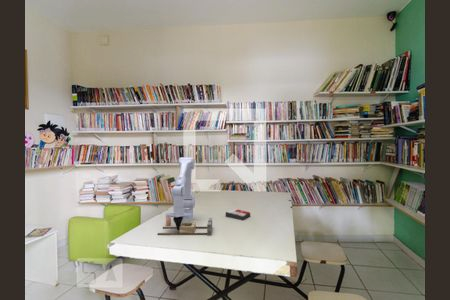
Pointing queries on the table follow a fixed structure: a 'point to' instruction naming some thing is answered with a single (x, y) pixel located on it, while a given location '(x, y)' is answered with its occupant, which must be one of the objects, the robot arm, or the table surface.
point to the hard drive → (237, 214)
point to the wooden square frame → (188, 227)
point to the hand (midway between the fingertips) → (178, 229)
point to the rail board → (209, 230)
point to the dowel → (168, 221)
